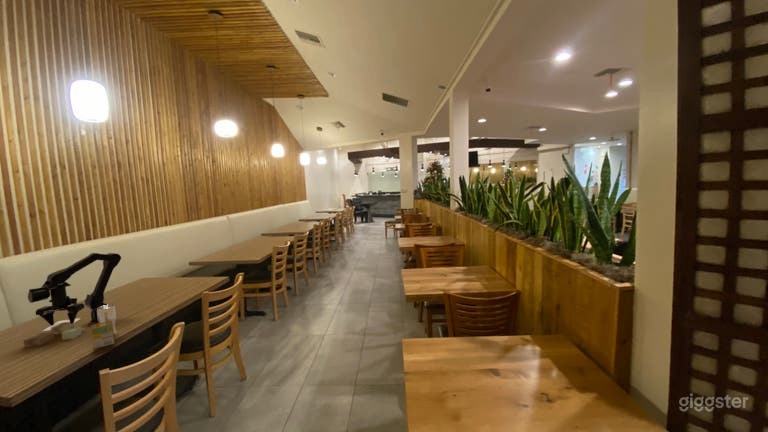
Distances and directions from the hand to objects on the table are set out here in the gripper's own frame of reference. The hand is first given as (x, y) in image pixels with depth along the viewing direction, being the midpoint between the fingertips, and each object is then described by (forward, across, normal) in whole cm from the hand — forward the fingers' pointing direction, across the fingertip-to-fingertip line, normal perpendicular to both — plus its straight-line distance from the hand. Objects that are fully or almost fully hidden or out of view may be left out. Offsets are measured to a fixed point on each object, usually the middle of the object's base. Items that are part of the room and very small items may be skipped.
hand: (62, 324), depth 163 cm
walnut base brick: (+4, 0, +13) cm, 14 cm away
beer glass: (+4, -29, +11) cm, 31 cm away
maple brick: (+4, 0, 0) cm, 4 cm away
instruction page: (+4, +8, -10) cm, 13 cm away
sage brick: (+4, -11, +9) cm, 15 cm away
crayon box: (+4, -35, +23) cm, 42 cm away
